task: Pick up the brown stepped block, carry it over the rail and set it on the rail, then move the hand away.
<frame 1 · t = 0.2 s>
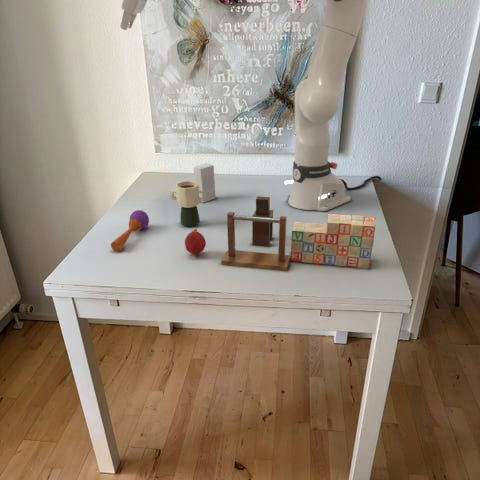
hand: (125, 28, 138), 54 cm above the table, tool tilted 30°, fingers open, 8 cm apart
cosmetic box: (205, 199, 176), on the table
onion: (196, 255, 139), on the table
kendama: (131, 238, 149), on the table
rail: (256, 261, 135), on the table
brown stepped block: (262, 241, 145), on the table
character mug: (190, 224, 158), on the table
stack of blocks: (329, 260, 135), on the table
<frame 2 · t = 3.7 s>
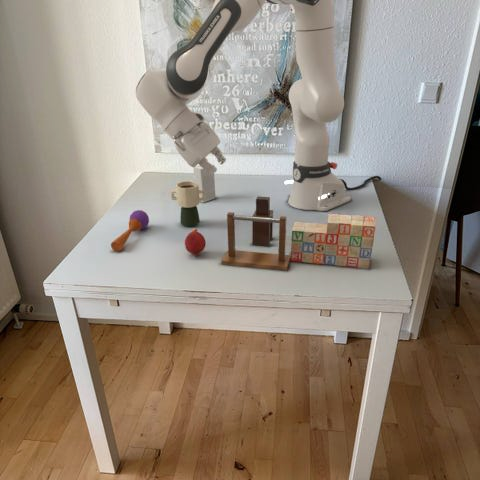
hand: (219, 167, 136), 21 cm above the table, tool tilted 45°, fingers open, 8 cm apart
nothing on the table moved.
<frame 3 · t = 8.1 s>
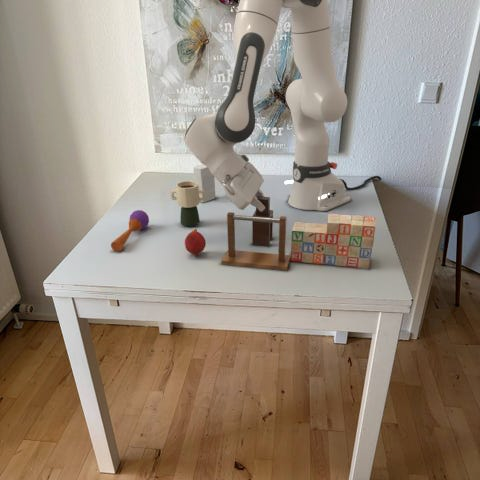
hand: (265, 206, 139), 11 cm above the table, tool tilted 45°, fingers closed on brown stepped block, 2 cm apart
brown stepped block: (262, 241, 145), on the table, touching gripper
everything else where it was.
when the fingers open (16 cm above the table, at t = 16.4 s): brown stepped block stays where it is, resting on rail.
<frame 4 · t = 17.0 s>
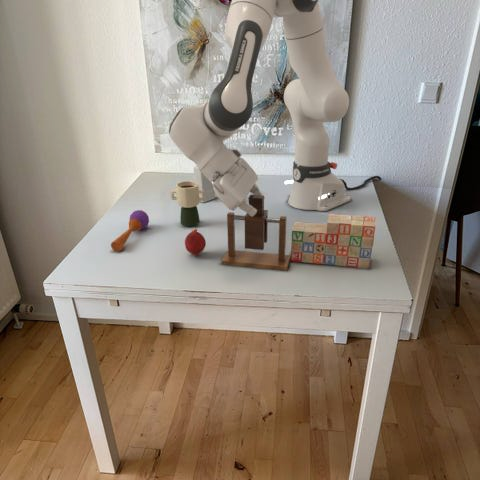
hand: (259, 207, 126), 16 cm above the table, tool tilted 45°, fingers open, 8 cm apart
brown stepped block: (256, 244, 132), point 5 cm above the table, touching rail
everything else where it was.
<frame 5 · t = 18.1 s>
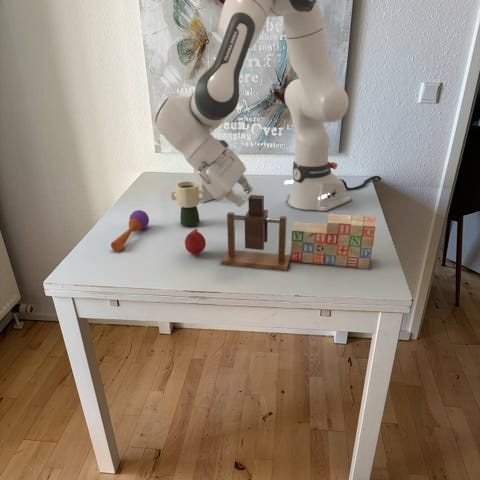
hand: (246, 198, 125), 18 cm above the table, tool tilted 45°, fingers open, 8 cm apart
nothing on the table moved.
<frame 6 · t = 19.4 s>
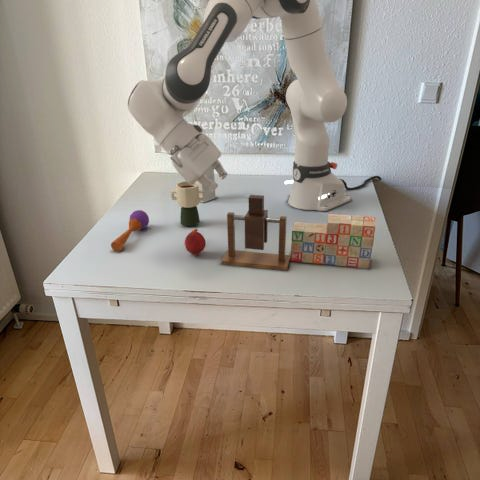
hand: (220, 182, 125), 21 cm above the table, tool tilted 45°, fingers open, 8 cm apart
nothing on the table moved.
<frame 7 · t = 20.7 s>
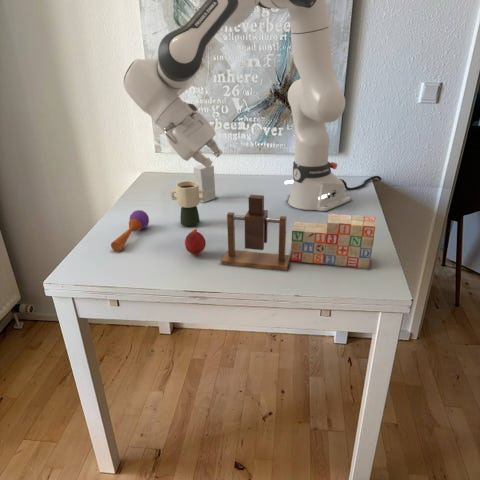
hand: (215, 160, 128), 25 cm above the table, tool tilted 45°, fingers open, 8 cm apart
nothing on the table moved.
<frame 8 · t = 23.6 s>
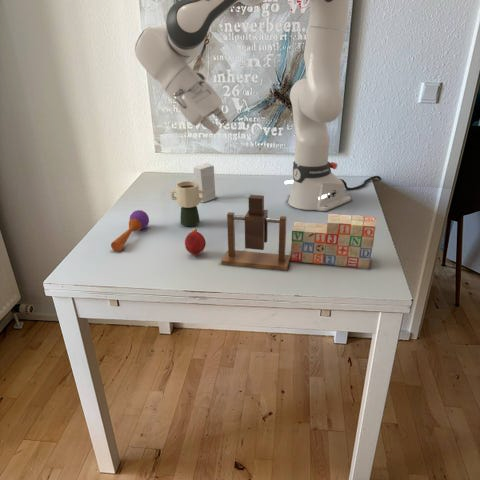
hand: (222, 127, 133), 31 cm above the table, tool tilted 45°, fingers open, 8 cm apart
nothing on the table moved.
at the end: brown stepped block 0.1 cm off-centre on the rail, point 5.1 cm above the rail's base; brown stepped block tilted 1°; the gripper is holding nothing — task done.
